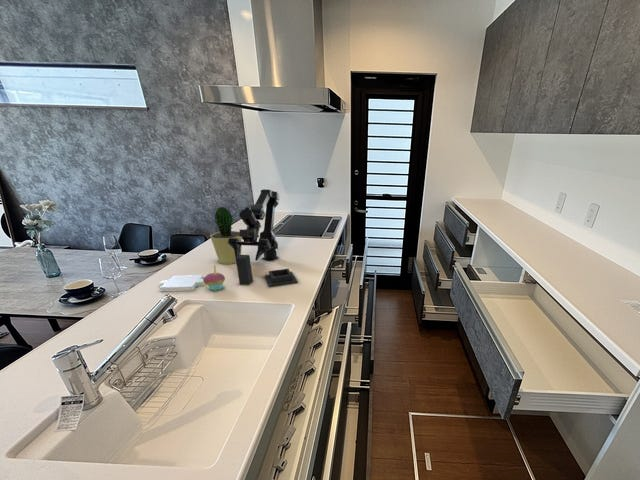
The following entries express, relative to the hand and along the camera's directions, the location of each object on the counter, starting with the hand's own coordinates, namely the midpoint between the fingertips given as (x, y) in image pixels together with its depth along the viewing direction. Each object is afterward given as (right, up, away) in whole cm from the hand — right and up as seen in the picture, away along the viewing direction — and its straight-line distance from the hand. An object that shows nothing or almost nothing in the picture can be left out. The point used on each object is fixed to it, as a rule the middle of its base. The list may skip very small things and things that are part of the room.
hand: (246, 259), depth 141 cm
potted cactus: (-20, +1, +27) cm, 34 cm away
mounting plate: (-28, -12, -3) cm, 30 cm away
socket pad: (+15, -9, +5) cm, 18 cm away
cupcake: (-11, -13, -6) cm, 18 cm away
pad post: (0, -11, +1) cm, 11 cm away
